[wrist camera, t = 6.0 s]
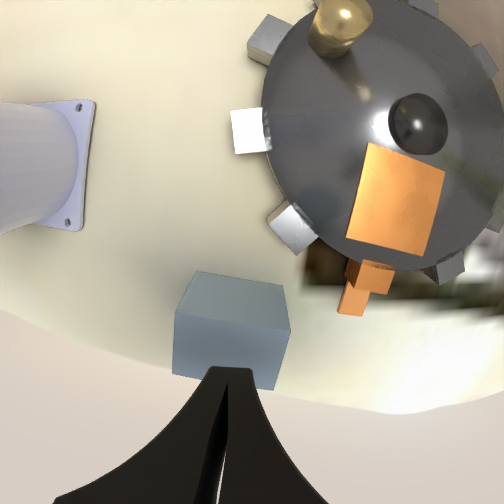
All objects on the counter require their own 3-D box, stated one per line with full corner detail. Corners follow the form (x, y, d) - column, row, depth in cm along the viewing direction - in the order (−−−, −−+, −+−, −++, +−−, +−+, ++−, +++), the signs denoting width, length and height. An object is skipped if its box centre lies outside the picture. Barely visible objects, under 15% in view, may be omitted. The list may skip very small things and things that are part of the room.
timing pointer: (337, 311, 18) (338, 313, 17) (347, 278, 17) (348, 280, 17) (360, 314, 18) (361, 316, 17) (371, 282, 17) (372, 284, 17)
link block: (191, 323, 18) (172, 373, 13) (196, 270, 17) (175, 311, 12) (270, 336, 18) (273, 390, 14) (282, 285, 17) (290, 331, 12)
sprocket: (385, 331, 18) (419, 384, 12) (165, 135, 14) (120, 125, 9) (528, 151, 14) (579, 157, 8) (365, -42, 10) (393, -87, 5)
